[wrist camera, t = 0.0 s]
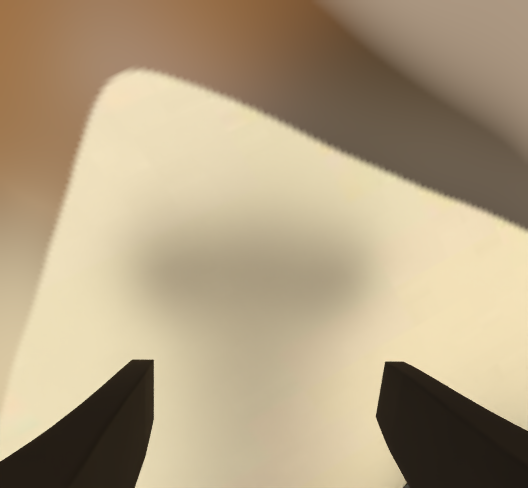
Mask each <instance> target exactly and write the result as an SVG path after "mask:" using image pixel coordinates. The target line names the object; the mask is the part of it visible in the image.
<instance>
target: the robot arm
mask: <svg viewBox="0 0 528 488" xmlns="http://www.w3.org/2000/svg"><path fill="white" fill-rule="evenodd" d="M376 418H377V421H378V424H379V426H380V429H381V431H382V434H383V436H384V439H385V441H386V444H387V446H388V448H389V450H390V452H391V454H392V456H393V458H394V460H395V462H396V463H397V465H398V467H399V469H400V471H401V473H402V474H403V476H404V478H405V480H406V482H407V483H408V485H409V487H410V488H528V431H527V430H525V429H523V428H521V427H519V426H517V425H515V424H513V423H511V422H509V421H507V420H505V419H504V418H502V417H500V416H498V415H496V414H494V413H493V412H491V411H489V410H487V409H485V408H483V407H482V406H480V405H478V404H476V403H475V402H473V401H471V400H470V399H468V398H466V397H464V396H463V395H461V394H459V393H458V392H456V391H454V390H453V389H451V388H449V387H448V386H446V385H444V384H442V383H441V382H439V381H437V380H436V379H434V378H432V377H431V376H429V375H427V374H426V373H424V372H422V371H420V370H419V369H417V368H415V367H413V366H411V365H409V364H407V363H405V362H385V366H384V372H383V378H382V384H381V390H380V395H379V401H378V407H377V413H376ZM153 420H154V360H131V361H130V362H129V363H128V364H127V365H125V366H124V367H123V368H122V369H121V370H120V371H119V372H117V373H116V374H115V375H114V376H113V377H112V378H111V379H110V380H108V381H107V382H106V383H105V384H104V385H103V386H102V387H101V388H99V389H98V390H97V391H96V392H95V393H94V394H92V395H91V396H90V397H89V398H88V399H86V400H85V401H84V402H83V403H82V404H80V405H79V406H78V407H77V408H75V409H74V410H73V411H71V412H70V413H69V414H68V415H66V416H65V417H64V418H62V419H61V420H60V421H59V422H57V423H56V424H55V425H53V426H52V427H51V428H49V429H48V430H47V431H45V432H44V433H43V434H41V435H40V436H38V437H37V438H35V439H34V440H32V441H31V442H30V443H28V444H27V445H25V446H24V447H22V448H20V449H19V450H17V451H16V452H14V453H13V454H11V455H10V456H8V457H7V458H5V459H4V460H2V461H0V488H135V485H136V482H137V479H138V476H139V473H140V470H141V467H142V464H143V461H144V458H145V455H146V451H147V447H148V443H149V438H150V434H151V429H152V425H153Z"/></svg>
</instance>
